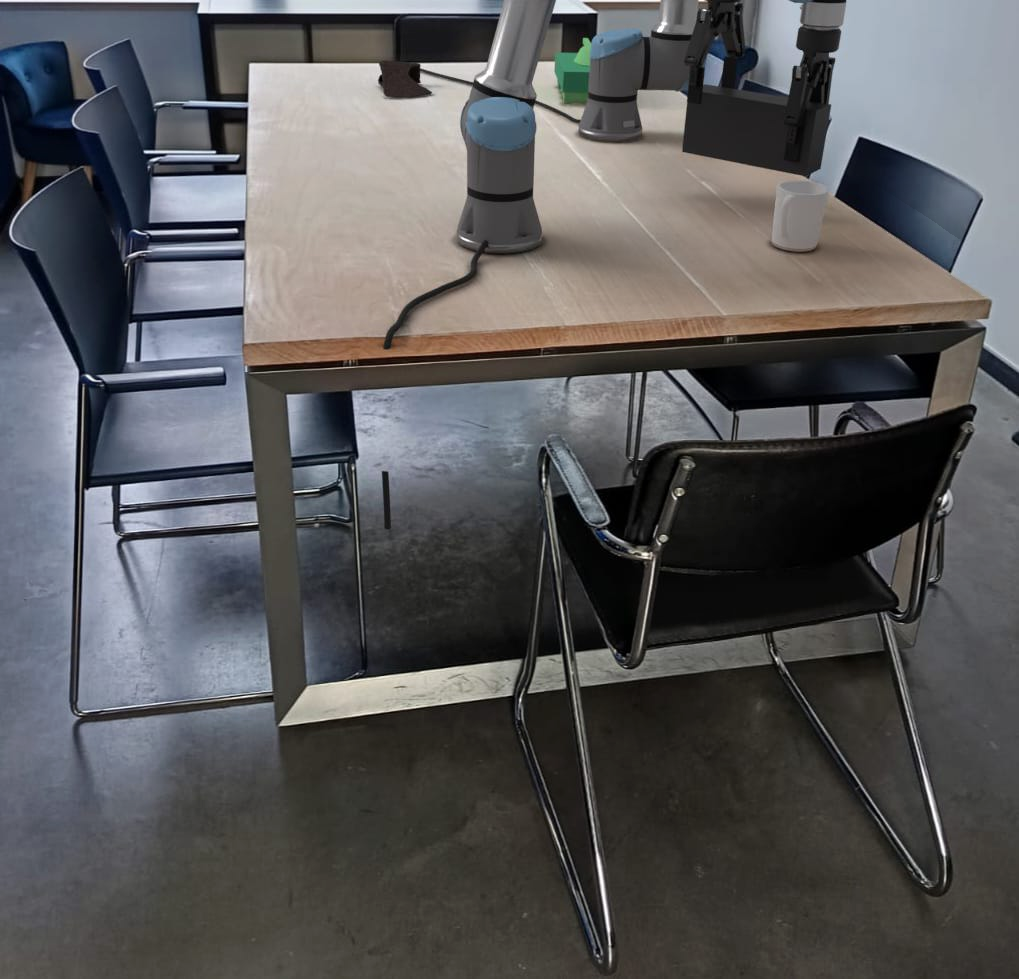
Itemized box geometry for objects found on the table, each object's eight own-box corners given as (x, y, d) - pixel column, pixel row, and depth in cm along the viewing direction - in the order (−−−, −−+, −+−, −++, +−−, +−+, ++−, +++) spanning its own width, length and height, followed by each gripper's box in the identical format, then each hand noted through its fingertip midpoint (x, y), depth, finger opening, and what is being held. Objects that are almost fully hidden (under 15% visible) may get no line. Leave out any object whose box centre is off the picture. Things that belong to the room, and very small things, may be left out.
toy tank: (615, 34, 312) (632, 57, 283) (611, 79, 319) (628, 107, 289) (553, 33, 311) (564, 56, 282) (551, 78, 318) (562, 105, 288)
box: (820, 169, 209) (831, 104, 203) (805, 176, 204) (816, 110, 198) (698, 145, 222) (705, 84, 216) (681, 152, 217) (688, 89, 211)
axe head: (443, 87, 294) (392, 77, 287) (436, 115, 299) (385, 106, 292) (421, 62, 307) (371, 52, 300) (414, 89, 311) (365, 80, 304)
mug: (783, 233, 202) (791, 177, 197) (827, 243, 197) (837, 187, 192) (754, 247, 195) (762, 190, 189) (799, 259, 190) (809, 200, 185)
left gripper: (823, 18, 203) (803, 143, 215) (776, 30, 190) (758, 163, 202) (861, 22, 200) (839, 150, 212) (817, 35, 186) (796, 171, 198)
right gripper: (736, -30, 212) (723, 85, 223) (672, -19, 195) (661, 104, 206) (772, -26, 208) (757, 90, 219) (710, -15, 191) (696, 110, 202)
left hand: (799, 156), depth 207 cm, fingers closed on box, 7 cm apart
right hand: (710, 97), depth 213 cm, fingers open, 13 cm apart
